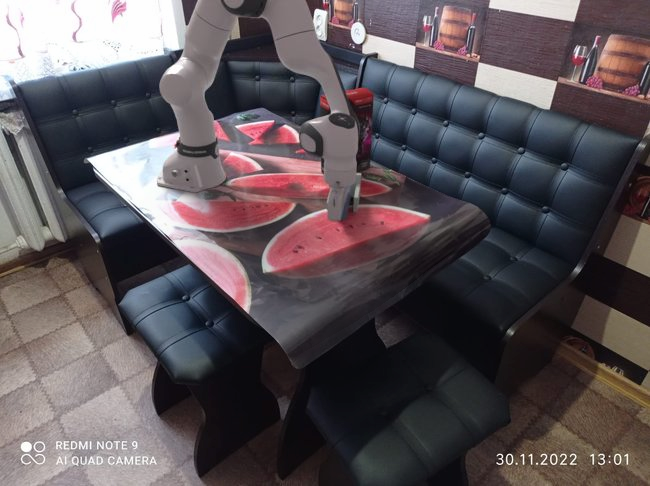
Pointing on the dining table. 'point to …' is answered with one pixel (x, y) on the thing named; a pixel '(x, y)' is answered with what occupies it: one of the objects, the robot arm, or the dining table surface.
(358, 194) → the bracket
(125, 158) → the dining table surface
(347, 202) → the book
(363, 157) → the graphics card box
